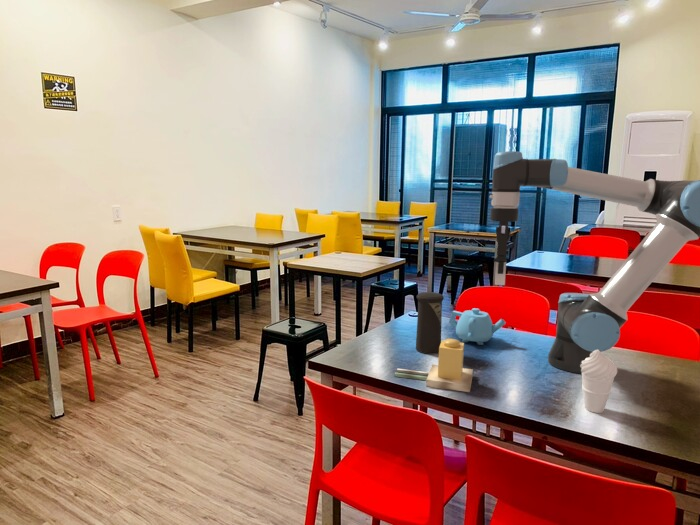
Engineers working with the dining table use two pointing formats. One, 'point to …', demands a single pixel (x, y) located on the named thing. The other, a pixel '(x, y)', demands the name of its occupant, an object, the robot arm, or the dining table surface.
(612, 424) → the dining table surface
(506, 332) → the dining table surface
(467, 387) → the block
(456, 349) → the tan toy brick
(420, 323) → the container
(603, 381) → the soft serve ice cream cone
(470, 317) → the teapot
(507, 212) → the robot arm
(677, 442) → the dining table surface
